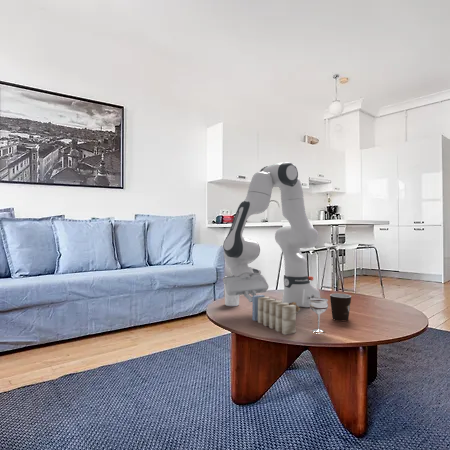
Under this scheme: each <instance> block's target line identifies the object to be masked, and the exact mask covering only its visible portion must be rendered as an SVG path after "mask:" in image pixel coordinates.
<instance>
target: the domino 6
mask: <svg viewBox="0 0 450 450" xmlns="http://www.w3.org/2000/svg"><path fill="white" fill-rule="evenodd" d="M296 317H297V312H296V306H295V305H287V306H282V331H281V334H283V335H291V334H296V326H297V325H296V323H297V322H296V321H297V318H296Z"/></svg>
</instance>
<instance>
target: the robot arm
mask: <svg viewBox="0 0 450 450" xmlns="http://www.w3.org/2000/svg"><path fill="white" fill-rule="evenodd" d="M250 180H251V181H250V183H249V186H248V189H247V194H246V197H245V199H244V201H241V202H240V203H239V205H238V207H237V209H236V212H235V215H234V218H233V220H232V223H231V226H230V227H229V231H228V233H227V235H226V237H225V239H224V240H223V258H224V261H225V264H226V266H227V268H228V269H229V271H230V272H229V273H230V275H226V276H224V277H222V283H223V285H224V284H225V289H226V292H227V294H228V295H229V296H234V295H240V296H241V295H243V296H244V298H246V300H248V302H249V303H253V296H256V294H259V293H261V294H262V293H266V292H267V291H268V289H269V284H268V282H267V280H266V278H265V277H264V276H263V275H262V271H261V270H260V269H258V268H253V267H250V266H249V264H251V263H252V262H254V261H255V260H256V259H258V258H259V256H260V253H261V247H260V244H259V243H258V242H257V241H256V240H253V239H251V238H245V237H243V232H244V230H245V227H246V225H247V221H248V219H249V218H250V217H251V216H253V215H259V214H262V213H264V212H266V211H267V210H268V208H269V206H270V203H271V197H272V191H273V188H279V190H280V201H281V202H280V203H281V211H282V216H283V218H284V219H286V220H287V222H288V223H289V225H286V226H282V227H279V228H277V230H276V231H275V234H274V240H275V242H276V243H277V245H278V246H279V247H280V250H281V252H282V254H283V259H284V275H283V294H282V299H281V301H282V303H292V302H295V303H296V305H297V306H298V307H299V308H301V307H302V308H310V301H311V300H310V298H315V297H318V298H321V293H320V290H319V289H317V288H316V287H315V286H314V285H313V284H312V283H311V282H310V281H314V279H315V278H314V276H310V275H308V260H307V258H306V257H305V256H304V255H303V253H302V252H301V249H305V250H306V249H311V248H312V249H313V248H315V247H316V246H317V245H318V244H319V240H320V235H319V232H318V230H317V229H316V228H315V227H313V226H312V224H311V222H310V221H309V218H308V216H307V213H306V207H305V199H304V191H303V186H302V184H301V180H300V179H299V172H298V168H297V166H296V165H295V164H294V163H292V162H290V161H289V162H288V161H284V162H278V163H273V164H271V165H269V166H264V167H262V168H261V169H260V170H259V171H257V172H255V173H254V175H252V178H251V179H250Z"/></svg>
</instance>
